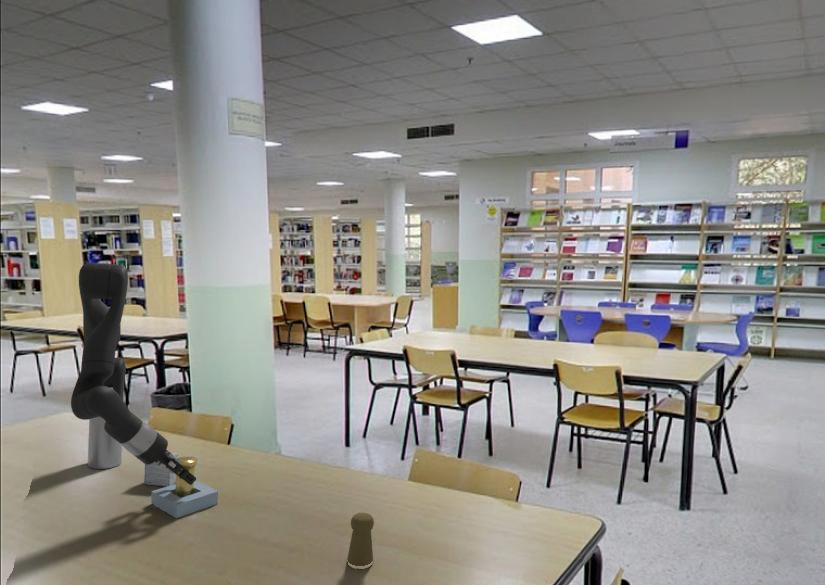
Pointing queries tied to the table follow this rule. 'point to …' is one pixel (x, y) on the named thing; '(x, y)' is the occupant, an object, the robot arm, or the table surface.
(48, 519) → the table surface
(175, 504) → the jig
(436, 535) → the table surface
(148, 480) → the medicine box
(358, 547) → the cork
